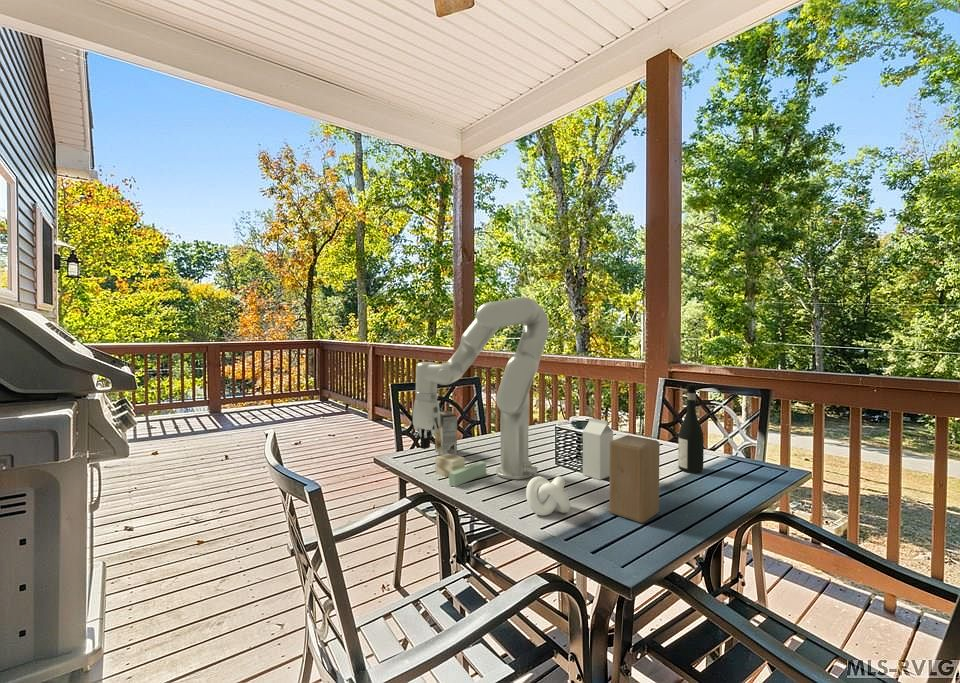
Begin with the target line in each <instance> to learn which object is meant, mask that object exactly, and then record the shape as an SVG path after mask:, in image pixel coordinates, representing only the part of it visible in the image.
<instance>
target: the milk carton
mask: <svg viewBox="0 0 960 683" xmlns="http://www.w3.org/2000/svg"><path fill="white" fill-rule="evenodd" d="M612 440H614V431H613V430H612V429H611V427H610V426H609V425H608V420H602V419H597V418H592V417H589V418H588V422H587V424H586V426H585V427H584V428H583V431H582V475H583V476H586V477H590V478H593V479H596V480H599V481H601V480H604V479H607V478H610V442H611V441H612Z"/></svg>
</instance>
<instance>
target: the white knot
mask: <svg viewBox="0 0 960 683" xmlns="http://www.w3.org/2000/svg"><path fill="white" fill-rule="evenodd" d="M565 485H566V481H565V478H564V477H563V476H561V475H560V476H556V477H555V478H553V480H551V482H550V481H549V480H548V479H547V478H545V477H542V476H540V475H539V476H534V477H533V478H531V479H530V480H529V481H528V483H527V486H526V488H525V495H526V501H527V504H528V507H529V508H530V510H531V511H532V512H533V513H534V514H536V515H538V516H542V517H544V516H548V515H550V514H552V513H553V512H554V511H555V510H556V511H557V512H559V513H561V514H567V513H568V512H570V510H571V502H570V499H569V497H568V495H567V494H566V493H565V492H564V488H565Z"/></svg>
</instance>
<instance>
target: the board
mask: <svg viewBox="0 0 960 683" xmlns="http://www.w3.org/2000/svg"><path fill="white" fill-rule="evenodd" d="M485 475H487V462H486V461H482V460H479V461H477V462H474V463H471V464H469V465H467V466H466V465H465V467H463V468H461V469H458V470H455V471H453V472H450V473H449V478H448V479H449V480H448V483H449V484H448V486H451V487H454V488H455V487H458V486H461V485H463V484H465V483H467V482H470V481H472V480H475V479H478V478H480V477H482V476H485Z"/></svg>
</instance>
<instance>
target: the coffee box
mask: <svg viewBox="0 0 960 683" xmlns="http://www.w3.org/2000/svg"><path fill="white" fill-rule="evenodd" d="M434 451H435V452H436V451H437V452H438V454H439V456H441V455H444V454H447V453H448V454H452V455H456V456H458V414H456V413H454V412H452V411H450V410H440V428H439V429H437V433H436V434H434ZM437 452H436V453H437Z"/></svg>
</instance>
